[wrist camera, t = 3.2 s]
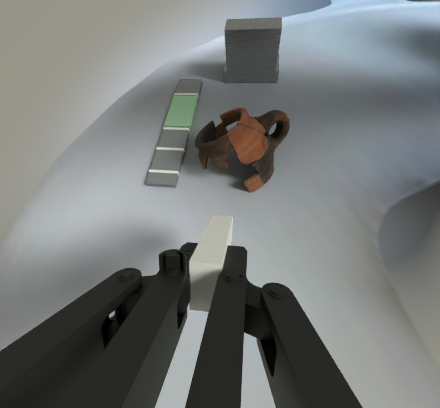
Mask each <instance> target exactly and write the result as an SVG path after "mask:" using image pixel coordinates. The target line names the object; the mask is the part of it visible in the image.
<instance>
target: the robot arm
mask: <svg viewBox="0 0 440 408" xmlns="http://www.w3.org/2000/svg"><path fill="white" fill-rule="evenodd" d="M232 223H233V216H224V215H212V217H211V219H210V221H209V223H208V225H207V227H206V229H205V231H204V233H203V235H202V237H201V239H200V241H199V243H190V242H187V243H186V244H184V245H183V246H182V247H181V248H180V250H177V249H171V250H166V251H164V252H162V253H160V254H159V269H160V270H159V272H158V273H157V274H156V275H152V276H143V277H142V274H141V272H140V270H138V269H135V268H126V269H122V270H119V271H118V272H116V273H114V274H113V275H111V276H110V277H108V278H107V279H105V280H104V281H102V282H101V283H99V284H98V285H97V286H95V287H94V288H92V289H91V290H89V291H88V292H86V293H85V294H83V295H82V296H80V297H79V298H78V299H76V300H75V301H73V302H72V303H70V304H69V305H67V306H66V307H64V308H63V309H61V310H60V311H59V312H57V313H56V314H54V315H53V316H51V317H50V318H48V319H47V320H45V321H44V322H42V323H41V324H40V325H38V326H37V327H35V328H34V329H32V330H31V331H29V332H28V333H26V334H25V335H23V336H22V337H21V338H19V339H18V340H16V341H15V342H13V343H12V344H10V345H9V346H7V347H6V348H4V349H3V350H2V351H0V408H155V405H156V402H157V400H158V397H159V394H160V391H161V388H162V386H163V383H164V380H165V377H166V374H167V372H168V369H169V366H170V363H171V360H172V358H173V355H174V352H175V349H176V346H177V344H178V341H179V338H180V335H181V332H182V330H183V327H184V324H185V321H186V318H187V307H188V304H189V302H190V309H191V310H198V311H206V312H209V314H208V318H207V322H206V326H205V330H204V334H203V338H202V342H201V346H200V350H199V354H198V358H197V362H196V366H195V370H194V374H193V378H192V382H191V386H190V390H189V394H188V398H187V402H186V406H185V408H240V407H241V385H242V362H243V340H244V332H245V333H247V334H249V335H252V336H254V337H256V338H257V344H258V348H259V351H260V354H261V358H262V361H263V365H264V368H265V372H266V375H267V378H268V382H269V385H270V389H271V392H272V396H273V399H274V402H275V406H276V408H362V406H361V404H360V403H359V401H358V399H357V398H356V396H355V395H354V393H353V391H352V390H351V388H350V386H349V385H348V383H347V381H346V380H345V378H344V376H343V375H342V373H341V372H340V370H339V368H338V367H337V365H336V363H335V362H334V360H333V358H332V357H331V355H330V354H329V352H328V350H327V349H326V347H325V345H324V344H323V342H322V340H321V339H320V337H319V335H318V334H317V332H316V331H315V329H314V327H313V326H312V324H311V322H310V321H309V319H308V317H307V316H306V314H305V312H304V311H303V309H302V308H301V306H300V304H299V303H298V301H297V299H296V298H295V296H294V294H293V293H292V291H291V290H290V289H289V288H288V287H286V286H284V285H282V284H279V283H267V284H265V285H264V286H263V287H262V288H260V287H257V286H255V285H253V284H251V283H250V282H249V281H248V280H247V278H246V266H247V250H246V249H245V248H244V247H240V246H231V243H232ZM114 310H115V315H114V316H113V317H111V318H109V314H110V313H112V312H113V311H114Z"/></svg>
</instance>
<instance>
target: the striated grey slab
mask: <svg viewBox="0 0 440 408" xmlns="http://www.w3.org/2000/svg"><path fill="white" fill-rule="evenodd" d="M281 29H282V18H256V19H255V18H254V19H229V20H228V19H227V21H226V26H225V47H226V63H225V68H224V81H225V83H277V80H278V73H279V53H278V51H279V44H280V36H281Z"/></svg>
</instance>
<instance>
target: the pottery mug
mask: <svg viewBox="0 0 440 408" xmlns="http://www.w3.org/2000/svg"><path fill="white" fill-rule="evenodd" d="M220 117H221V120H222V123H220V124H219V125H218V126H217V127H215V124H214V122H213V121H211V122H210V123H208V124H207V125H206V126H205V127H204V128H203V129H202V130H201V131H200V132H199V134H198V135H197V137H196V140H195V146H196V147H197V148H198V149H199V159H200V161H201V164H202V166H203V168H204V169H206V168H207V161H208V158H209V159H210V161H211V162H212V163H213V164H215V165H216V166H217V167H218V168H220V169H227V168H228V163H227V159H228V154H229V151H230V149H231V147H233V149H234V151H235V153H236V155H237V157H238V160H239V161H240V162H241V163H243V164H249V163H250V164H251V165H252V166H253V168H254V169H255V171H256V173H255V174H254V175H253V176H251V177H250V178H248V179H246V180H244V181H243V183H244V185H245V187H247V190H248V191H249V192H253V191H255V190H257V189H259V188H260V187H261V186H263V185H264V184H265V183H266V182H267V181H268V180H269V179H270V178H271V176H272V174H273V171H274V165H273V161H274V159H273V158H274V151H275V149H276V147H277V146H278V145H279V144H280V143H281V142H282V141H283V140H284V138H285V137H286V135H287V133H288V131H289V118H288V117H287V115H286V114H285V113H284V112H282V111H279V110H273V111H270V112H268V113H266V114H264V115H262V116H260V117H254V118H253V117H249V115H248V112H247V110H246V109H243V108H237V109H233V110H230V111H228V112H225V113H223V114H222V115H220ZM236 121H239V122H238V123H237V125H235V127H234V128H232V129H231V130H230V131H229V132H228V131H227V130H226V126H228V125H230V124H232V123H234V122H236ZM274 123H277V125H276V129H275V131H274V132H273V134H271V135H269V130H270V128H271V127H272V125H273V124H274Z"/></svg>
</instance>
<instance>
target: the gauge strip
mask: <svg viewBox="0 0 440 408" xmlns="http://www.w3.org/2000/svg"><path fill="white" fill-rule="evenodd" d="M201 85H202V79H180V80H179V83H178V86H177V89H176V92H175V94H174V96H173V99H172V102H171V105H170V108H169V111H168V114H167V117H166V120H165V123H164V127H163V131H162V134H161V137H160V141H159V144H158V147H157V148H156V153H155V156H154V159H153V162H152V165H151V168H150V169H149V174H148V177H147V180H146V185H147V186H161V187H176V184H177V180H178V176H179V172H180V168H181V165H182V161H183V157H184V153H185V149H186V145H187V141H188V137H189V133H190V130H191V126H192V122H193V118H194V114H195V110H196V106H197V102H198V98H199V93H200V89H201Z"/></svg>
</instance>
